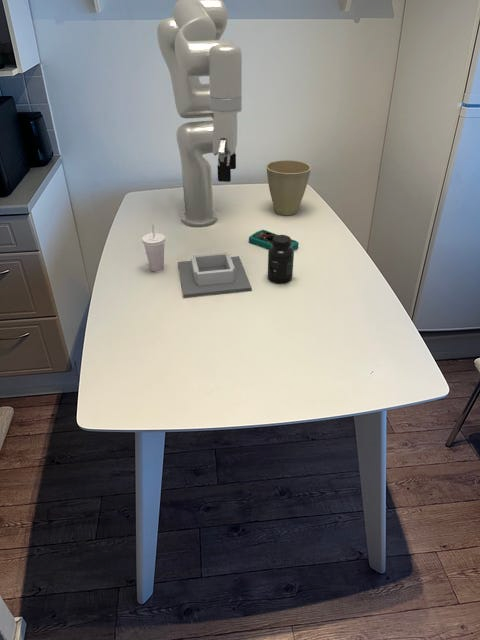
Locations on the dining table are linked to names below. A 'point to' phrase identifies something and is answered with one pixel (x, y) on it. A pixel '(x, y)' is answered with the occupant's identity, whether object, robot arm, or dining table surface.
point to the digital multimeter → (261, 237)
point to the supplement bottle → (280, 260)
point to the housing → (213, 275)
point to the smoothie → (154, 249)
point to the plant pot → (287, 184)
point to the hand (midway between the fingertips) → (227, 174)
